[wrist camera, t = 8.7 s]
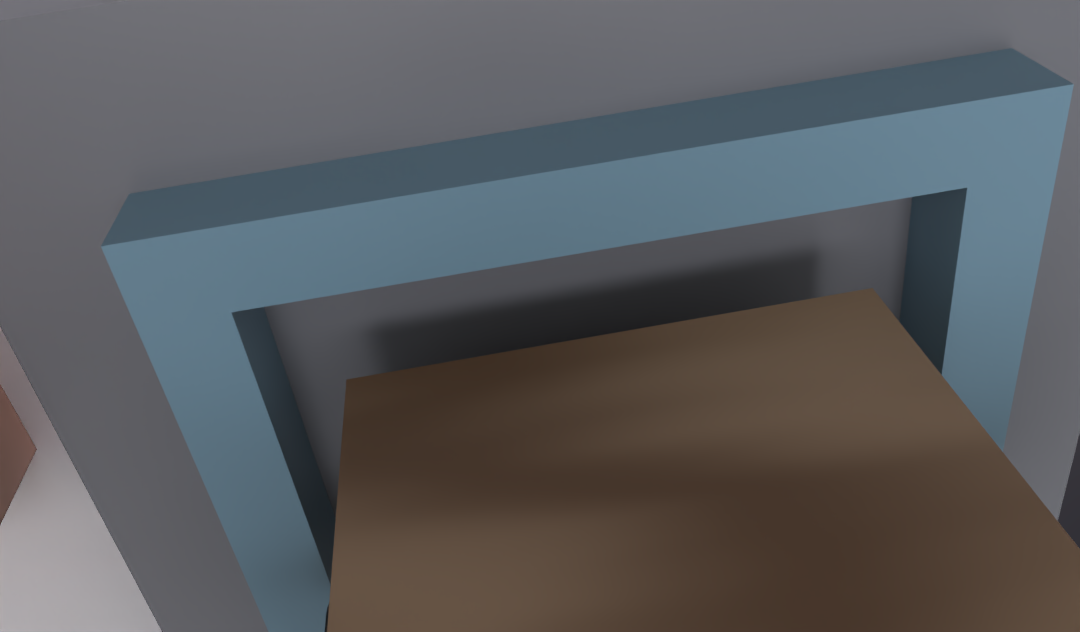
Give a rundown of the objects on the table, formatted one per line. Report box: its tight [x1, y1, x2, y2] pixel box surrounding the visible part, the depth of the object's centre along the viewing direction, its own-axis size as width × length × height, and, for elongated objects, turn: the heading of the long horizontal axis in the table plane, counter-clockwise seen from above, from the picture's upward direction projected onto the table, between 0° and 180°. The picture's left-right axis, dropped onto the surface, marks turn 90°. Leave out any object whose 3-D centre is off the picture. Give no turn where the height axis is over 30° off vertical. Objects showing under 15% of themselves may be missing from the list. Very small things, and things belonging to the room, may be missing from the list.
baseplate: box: [0, 0, 1080, 632], centre depth 13 cm, size 14×14×2 cm
